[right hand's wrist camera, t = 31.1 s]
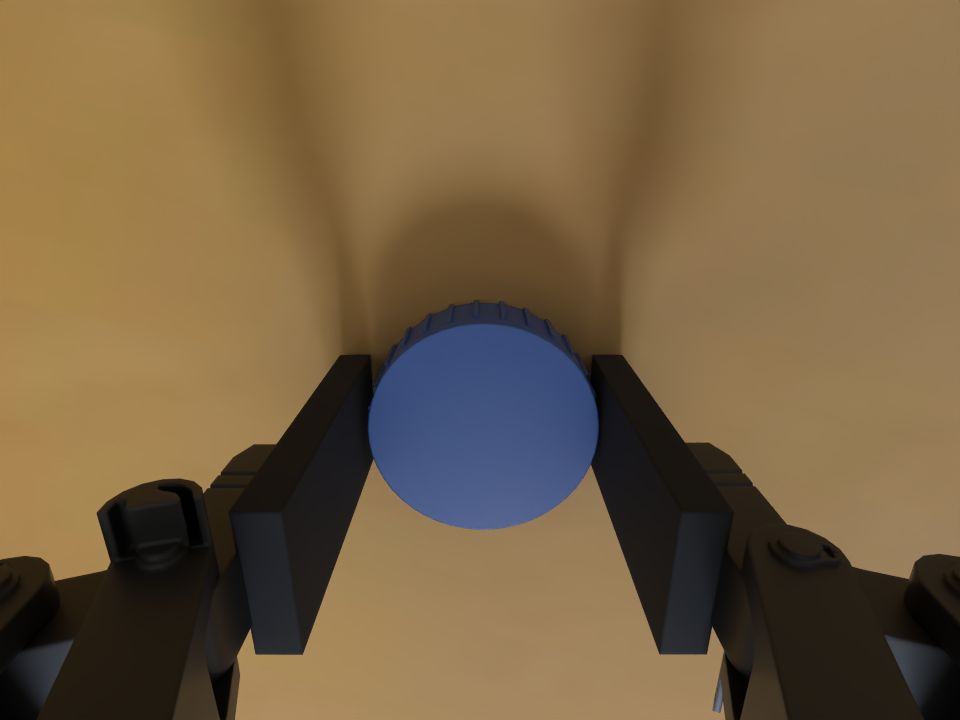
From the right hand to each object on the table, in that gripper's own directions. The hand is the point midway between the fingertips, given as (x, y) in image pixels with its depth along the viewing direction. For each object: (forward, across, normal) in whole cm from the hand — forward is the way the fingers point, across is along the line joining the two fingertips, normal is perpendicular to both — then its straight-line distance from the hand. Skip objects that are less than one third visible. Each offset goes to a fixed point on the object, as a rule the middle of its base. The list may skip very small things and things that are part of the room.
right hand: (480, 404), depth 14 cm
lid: (-1, 0, 0) cm, 1 cm away
